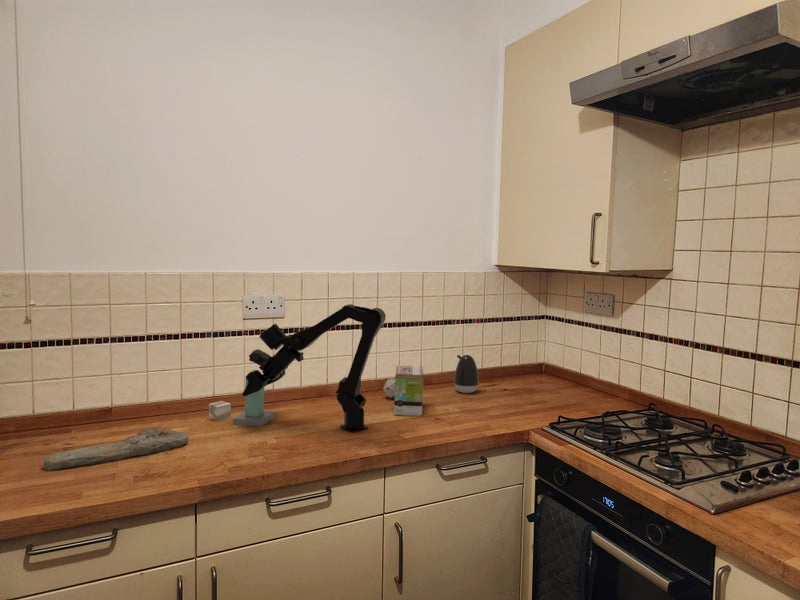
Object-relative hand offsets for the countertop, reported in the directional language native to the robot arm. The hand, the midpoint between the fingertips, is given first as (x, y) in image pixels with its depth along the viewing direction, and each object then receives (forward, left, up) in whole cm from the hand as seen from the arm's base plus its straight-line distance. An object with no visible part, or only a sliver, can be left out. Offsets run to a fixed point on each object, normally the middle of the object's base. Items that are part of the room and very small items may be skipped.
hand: (250, 391), depth 174 cm
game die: (-7, -55, -10) cm, 56 cm away
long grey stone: (-7, +40, -10) cm, 42 cm away
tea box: (-22, -50, -10) cm, 55 cm away
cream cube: (+8, +7, -10) cm, 14 cm away
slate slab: (-1, -1, -10) cm, 10 cm away
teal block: (-1, -1, -8) cm, 8 cm away
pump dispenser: (-17, -85, -10) cm, 87 cm away
